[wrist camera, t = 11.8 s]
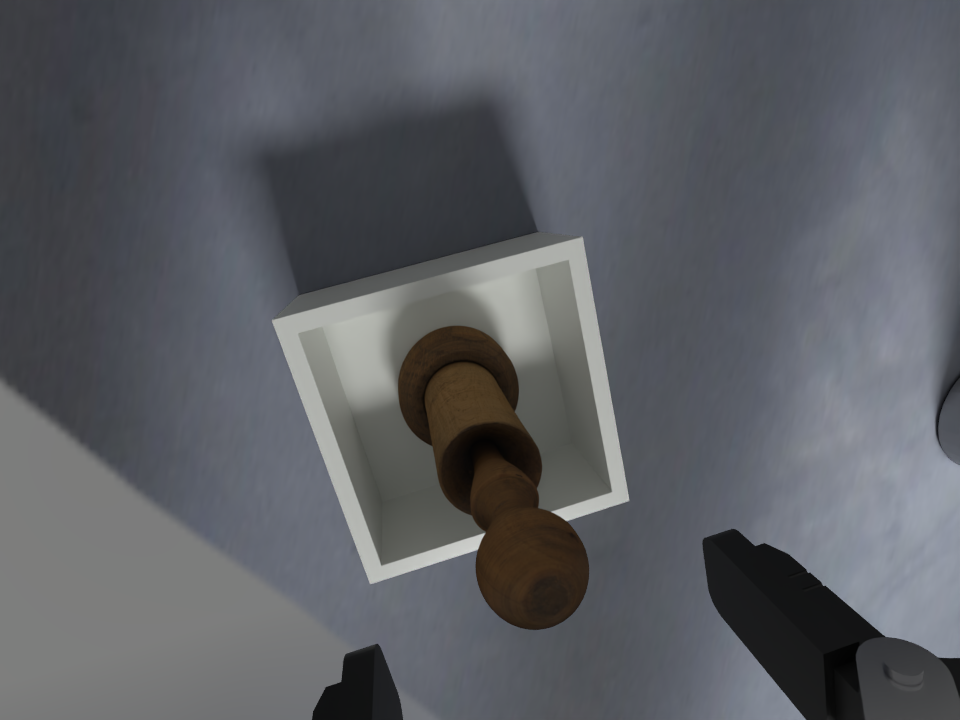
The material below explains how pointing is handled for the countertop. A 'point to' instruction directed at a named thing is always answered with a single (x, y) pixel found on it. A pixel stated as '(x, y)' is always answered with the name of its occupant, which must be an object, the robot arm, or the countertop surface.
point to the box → (375, 402)
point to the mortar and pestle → (493, 474)
